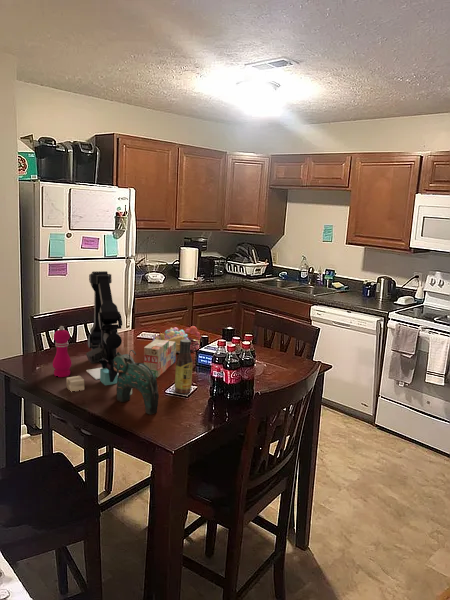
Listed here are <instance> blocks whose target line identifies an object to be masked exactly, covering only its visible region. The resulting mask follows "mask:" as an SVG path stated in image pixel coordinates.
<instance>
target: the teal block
mask: <svg viewBox="0 0 450 600" xmlns="http://www.w3.org/2000/svg"><path fill="white" fill-rule="evenodd" d="M117 378H118V373H117V375H116V377H115V379H114V381H113V382H110V378H109V371H108V369H107V368H103V369H100V379H99V381H100V382H101V383H102V385H104V386H110V385H115V384H116V385H117Z"/></svg>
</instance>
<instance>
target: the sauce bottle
mask: <svg viewBox="0 0 450 600" xmlns="http://www.w3.org/2000/svg"><path fill="white" fill-rule="evenodd" d="M190 345H191V341H190V340H187V339H183V340H180V353H178V355H177V356H176V361H175V375H174V391H175V392H176V393H179V394H188V393H190V392H191V388H192V380H193V365H194V363H193V359H192V353H191V351H190Z"/></svg>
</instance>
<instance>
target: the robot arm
mask: <svg viewBox="0 0 450 600" xmlns="http://www.w3.org/2000/svg"><path fill="white" fill-rule="evenodd" d="M88 277H89V278H88V281H89V283H90V286H91V288H92V290H93V291H94V301H93V305H94V308H93V309H94V312H93V313H94V314H93V324H92V327H91V328H90V332H89V333H90V334H88V337H87V338H88V339H87V347H88V349H91V350H89V351H88V352H85V356H86V358H87V360H88V362H90V363H91V364H92V365H93V364H97V363H99V364H100V366H101V368H102V369H103V368H107V369H108V371H109V378H110V382H113V381H114V379H115V377H116V375H117V372H116V371H115V370H114V368H113V360H114V358H115V357H116V356H117V352H118V351H117V350H118V348H119V347H120V346H121V345H122V341H123V340H122V336H120V334H119V333H118V332H119V331H118V330H120V329H122V326H123V319H122V315H121V312H120V311H119V310H118V306H117V304H116V303H114V302H113V294H112V290H111V284H112V281H113V279H112V274H111V273H109V272H108V271H102V270H101V271H92V272H91V273H90V274H89V276H88Z"/></svg>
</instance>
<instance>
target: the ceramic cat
mask: <svg viewBox="0 0 450 600" xmlns="http://www.w3.org/2000/svg"><path fill="white" fill-rule="evenodd" d="M131 352H132V353H133V354H134V355H135V356H136V355H137V354H136V351H134V350H133V349H130V350H129V353H126V354H125V353H124V354H122V353H120V352H119V351H117V356H116V357H115V358H114V360H113V368H114V370H115V371H116V372H117V373H118V378H117V383H116V401H118V402H120V403H125V402H128V401H130V400H131V395H130V392H131V389H132V390H133V389H136V390H137V391H138V392H140V394H141V395H142V399H143V404H144V410H145V413H146V414H147V415H149V416H150V415H154V414H156V413H158V406H159V400H160V399H159V397H160V394H159V388H158V382H157V377H155V376H154V374H153V372H152V371H151V370H150V368H149V367H148V366H147V365H145V364H144V362H143V363H142V362H135V360H134V359H133V357H132V356H131Z"/></svg>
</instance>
